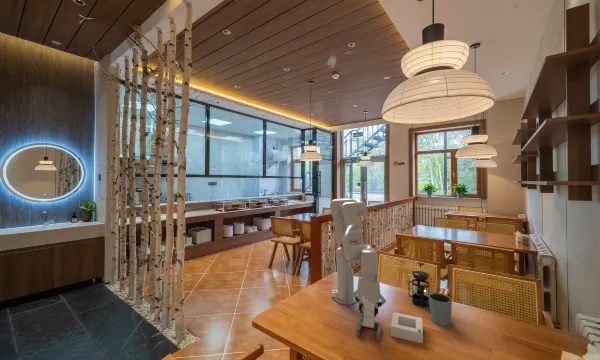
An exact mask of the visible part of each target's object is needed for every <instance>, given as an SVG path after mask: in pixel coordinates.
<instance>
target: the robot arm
mask: <svg viewBox="0 0 600 360" xmlns="http://www.w3.org/2000/svg"><path fill="white" fill-rule="evenodd" d="M329 210H330V214H331V217H332V219H333V222H334V229H335V237H336V242H337V243H338V244H340V245H342V246H339V247H337V248H336V249H335V260H336V269H337V270H336V271H337V272H336V274H337V275H336V277H337V279H336V280H337V285H336V286H337V289H332V288H331V289H330V293H331V295H332V296H333V295H334V300H335V302H336V303H338V304H341V305H346V306H348V305H354V304H355V303H356V302H357V304H358V311H359V313H360V314H362V296H364V297H366V298H367V296H368V297H369V298H367V300H368V302H372V303H375V313H374V316H375V318H377V315H379V308H380V307H382V306H383V305H384V304H386V302H387V300H386V299H385V297H384V296H383V295H382V294H381V286H380V280H379V278H378V261H379V260H378V259H379V258H378V255H379V254H378V251H377V250H376V249H374V248H373V246H372V245H371V244H368V243H364V235H363V232H362V230H361V229H362V228H363V223H362V220H361V218H360V217H365V216H367V215H368V212H369V210H368V206H367V204H366V203H365V202H364V201H363V200H360V199H359V198H334V199H332V200H331V201H330V204H329ZM351 263H360V271H357V275H359V277H358V281H357V290H354V289H355V288H354V284H355V283H354V280H355V279H354V276H355V275H354V268H353V267H352V266H351V265H350V264H351Z"/></svg>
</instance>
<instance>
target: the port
mask: <svg viewBox="0 0 600 360" xmlns="http://www.w3.org/2000/svg"><path fill="white" fill-rule="evenodd" d="M390 326H391V327H390V329H391V330H390V336H391V337H394V338H398V339H401V340H402V339H403V340H405V341H410V342H414V343H417V344H422V345H423V344H424V343H423V342H424V333H423V332H424V330H423V329H424V328H423V318H422V317H418V316H414V315H410V314H404V313H401V312H400V313H399V312H395V311H394V312H393V313H392V319H391V325H390Z"/></svg>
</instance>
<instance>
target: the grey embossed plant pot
mask: <svg viewBox="0 0 600 360" xmlns="http://www.w3.org/2000/svg"><path fill="white" fill-rule="evenodd" d="M429 303H430V305H429V311H430V319H431V321H432V322H433V323H434V324H436V325H437V326H442V327H449V326H450V325H451V323H452V305H453V300H452V298H451V297H450V296H448V295H446V294H443V293H439V292H436V293H435V292H431V293H429Z"/></svg>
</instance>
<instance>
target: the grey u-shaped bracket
mask: <svg viewBox="0 0 600 360" xmlns="http://www.w3.org/2000/svg"><path fill="white" fill-rule="evenodd" d="M361 319H362V317H360V319H359V322H358V325H357V327H356V330H355V332H356V337H360V336H361V333H362V330H363V327H364V328H367V327H366V326H362V325H361ZM368 328H369V329H374V330H376V333H375V335H376V336H375V337H376V338H375V340H376V342H378V343H379V342H380V339H381V335H382V331H383V323H382V322H378V321H375V323H374V328H371V327H368Z"/></svg>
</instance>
